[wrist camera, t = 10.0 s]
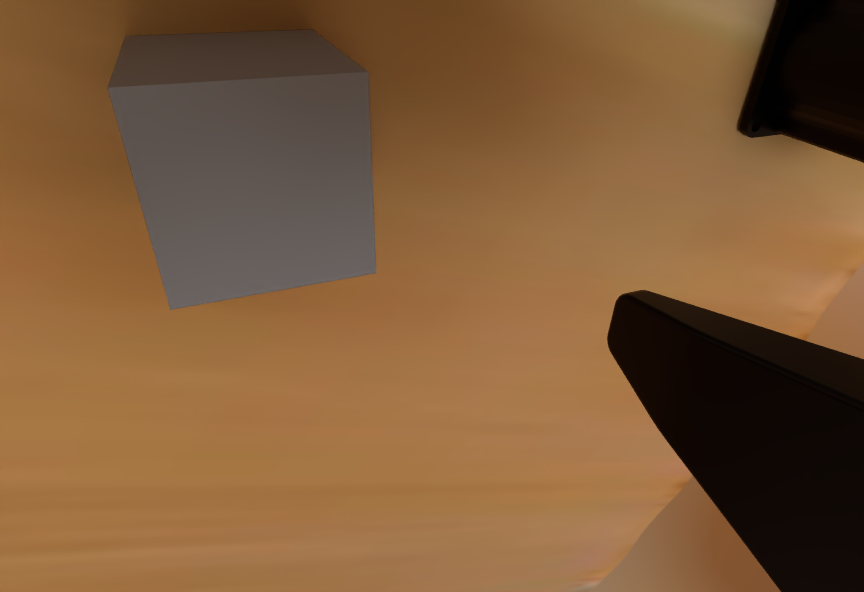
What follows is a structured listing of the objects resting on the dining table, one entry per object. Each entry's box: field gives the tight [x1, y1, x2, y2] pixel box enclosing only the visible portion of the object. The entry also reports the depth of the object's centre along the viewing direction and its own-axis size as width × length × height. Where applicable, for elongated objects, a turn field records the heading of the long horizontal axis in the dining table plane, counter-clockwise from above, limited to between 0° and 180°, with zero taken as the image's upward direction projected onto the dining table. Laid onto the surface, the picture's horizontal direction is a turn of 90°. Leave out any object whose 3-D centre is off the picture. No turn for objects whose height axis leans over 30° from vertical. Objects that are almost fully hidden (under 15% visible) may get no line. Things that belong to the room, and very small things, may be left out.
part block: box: [108, 29, 376, 310], centre depth 15 cm, size 5×5×6 cm
